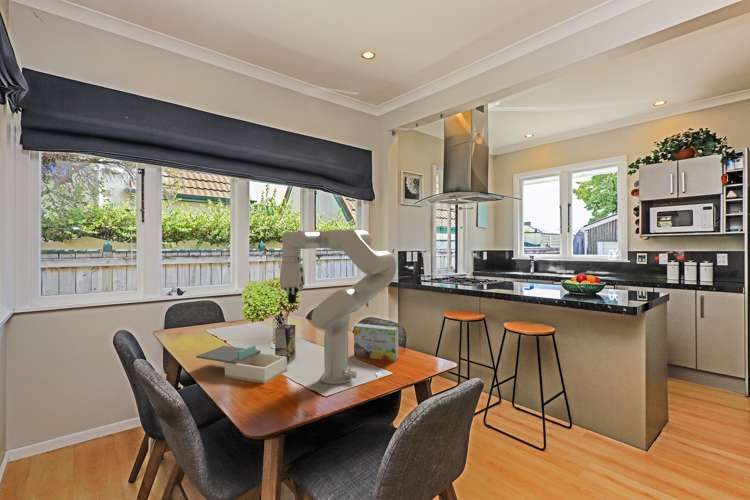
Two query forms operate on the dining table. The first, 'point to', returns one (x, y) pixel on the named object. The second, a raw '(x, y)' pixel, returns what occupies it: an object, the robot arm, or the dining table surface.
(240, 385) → the dining table surface
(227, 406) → the dining table surface
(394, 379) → the dining table surface
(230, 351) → the lid
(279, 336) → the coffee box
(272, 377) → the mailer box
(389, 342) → the snack box
